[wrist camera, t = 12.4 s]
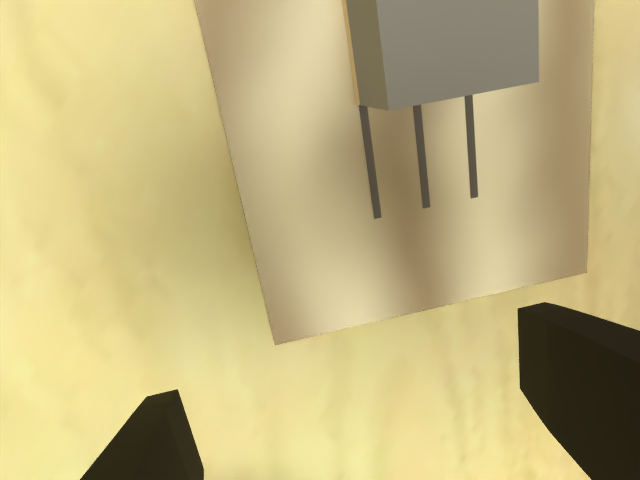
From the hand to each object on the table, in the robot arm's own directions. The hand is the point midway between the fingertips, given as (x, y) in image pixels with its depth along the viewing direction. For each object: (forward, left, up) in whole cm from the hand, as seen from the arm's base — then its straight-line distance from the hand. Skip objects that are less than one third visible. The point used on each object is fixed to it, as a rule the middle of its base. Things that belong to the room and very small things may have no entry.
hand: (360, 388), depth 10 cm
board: (-5, -5, -10) cm, 12 cm away
